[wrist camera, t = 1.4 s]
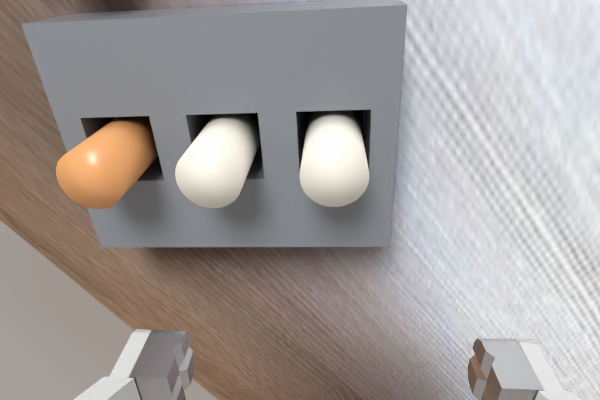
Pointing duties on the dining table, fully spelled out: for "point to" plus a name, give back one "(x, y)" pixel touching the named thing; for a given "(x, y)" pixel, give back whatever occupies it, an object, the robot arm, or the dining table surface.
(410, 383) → the dining table surface
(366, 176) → the ivory plug
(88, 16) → the panel
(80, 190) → the orange plug
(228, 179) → the ivory plug
